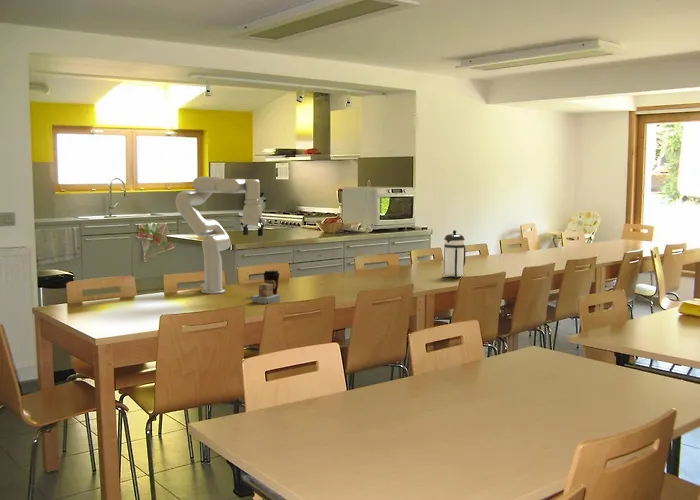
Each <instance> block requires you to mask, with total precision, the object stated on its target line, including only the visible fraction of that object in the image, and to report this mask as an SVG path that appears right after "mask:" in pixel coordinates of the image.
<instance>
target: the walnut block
mask: <svg viewBox="0 0 700 500" xmlns="http://www.w3.org/2000/svg"><path fill="white" fill-rule="evenodd" d="M258 295H259V296H262V297H269V296H273V284H268V283H264V282H263V283H260V284H258Z"/></svg>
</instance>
